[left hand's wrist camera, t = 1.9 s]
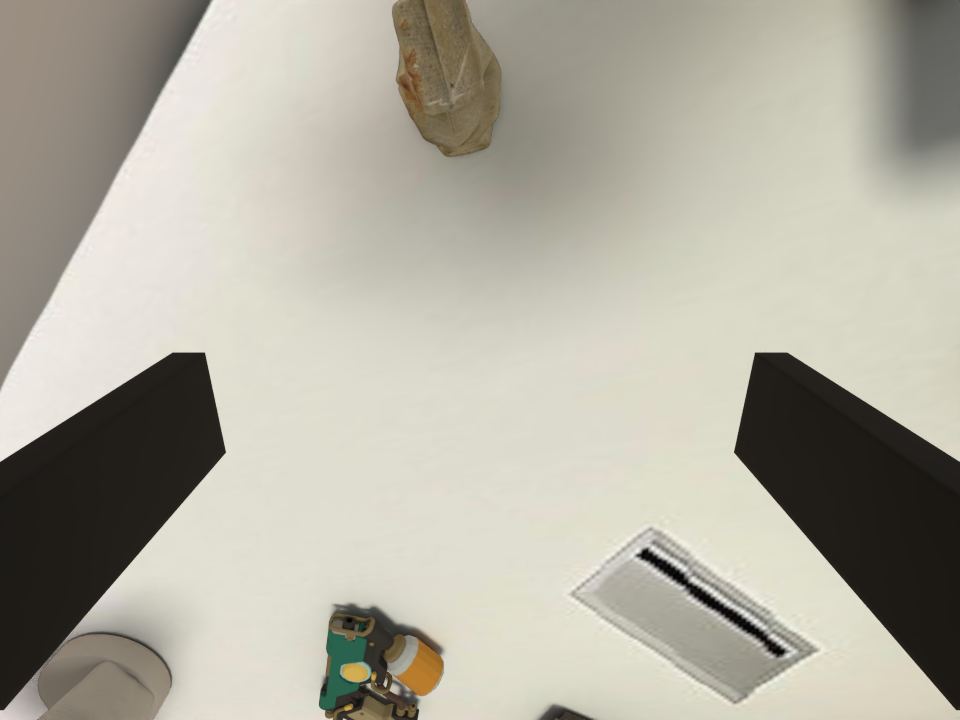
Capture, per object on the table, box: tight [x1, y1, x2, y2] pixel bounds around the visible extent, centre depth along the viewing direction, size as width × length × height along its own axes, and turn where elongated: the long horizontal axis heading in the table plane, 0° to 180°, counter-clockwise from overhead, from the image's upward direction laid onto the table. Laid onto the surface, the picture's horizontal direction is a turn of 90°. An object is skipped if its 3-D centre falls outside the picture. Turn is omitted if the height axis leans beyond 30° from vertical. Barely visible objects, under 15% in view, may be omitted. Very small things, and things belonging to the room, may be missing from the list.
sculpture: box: [392, 0, 501, 157], centre depth 30 cm, size 6×7×15 cm
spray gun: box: [319, 613, 444, 720], centre depth 57 cm, size 4×17×15 cm
